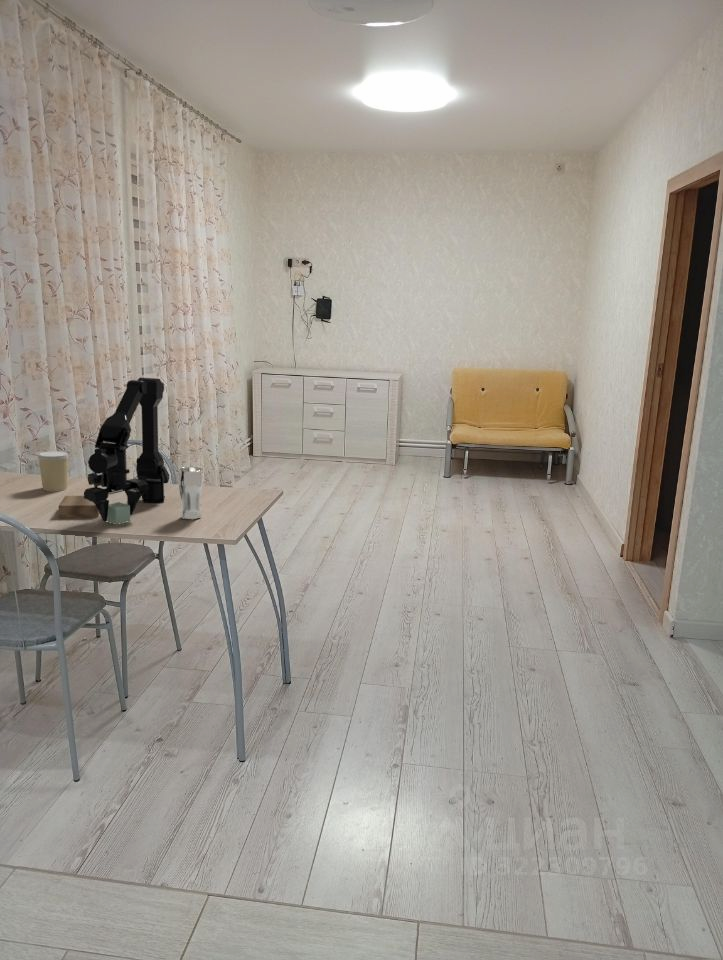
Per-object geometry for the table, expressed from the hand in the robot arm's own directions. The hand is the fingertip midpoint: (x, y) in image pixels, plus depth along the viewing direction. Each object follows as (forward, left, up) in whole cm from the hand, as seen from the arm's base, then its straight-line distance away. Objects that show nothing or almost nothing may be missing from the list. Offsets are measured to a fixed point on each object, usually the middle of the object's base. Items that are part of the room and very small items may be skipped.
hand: (117, 517), depth 220 cm
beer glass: (-21, -3, -1) cm, 21 cm away
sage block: (0, 0, -1) cm, 1 cm away
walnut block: (+12, -10, -2) cm, 16 cm away
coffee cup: (+24, -39, -1) cm, 46 cm away
